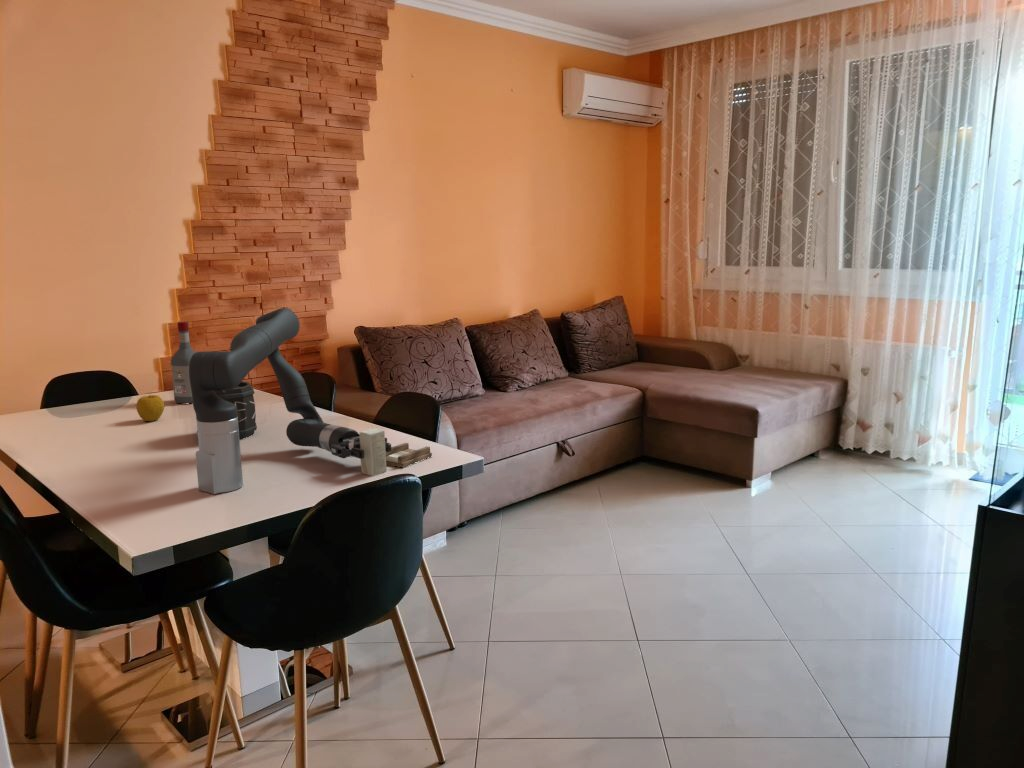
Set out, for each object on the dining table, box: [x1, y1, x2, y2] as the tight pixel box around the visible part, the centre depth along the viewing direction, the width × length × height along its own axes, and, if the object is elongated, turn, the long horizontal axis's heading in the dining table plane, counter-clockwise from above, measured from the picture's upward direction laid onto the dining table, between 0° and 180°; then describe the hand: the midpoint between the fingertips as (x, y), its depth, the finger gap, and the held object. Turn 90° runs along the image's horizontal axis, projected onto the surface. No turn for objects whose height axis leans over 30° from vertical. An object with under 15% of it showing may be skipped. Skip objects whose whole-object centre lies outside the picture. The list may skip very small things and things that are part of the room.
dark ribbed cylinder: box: [196, 380, 258, 440], centre depth 229 cm, size 18×18×16 cm
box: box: [358, 428, 388, 477], centre depth 191 cm, size 5×4×11 cm
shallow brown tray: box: [386, 442, 433, 468], centre depth 203 cm, size 12×10×3 cm
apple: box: [135, 394, 165, 422], centre depth 249 cm, size 8×8×9 cm
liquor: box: [170, 321, 197, 404], centre depth 278 cm, size 9×9×30 cm
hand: (376, 451), depth 189 cm, fingers open, 8 cm apart
